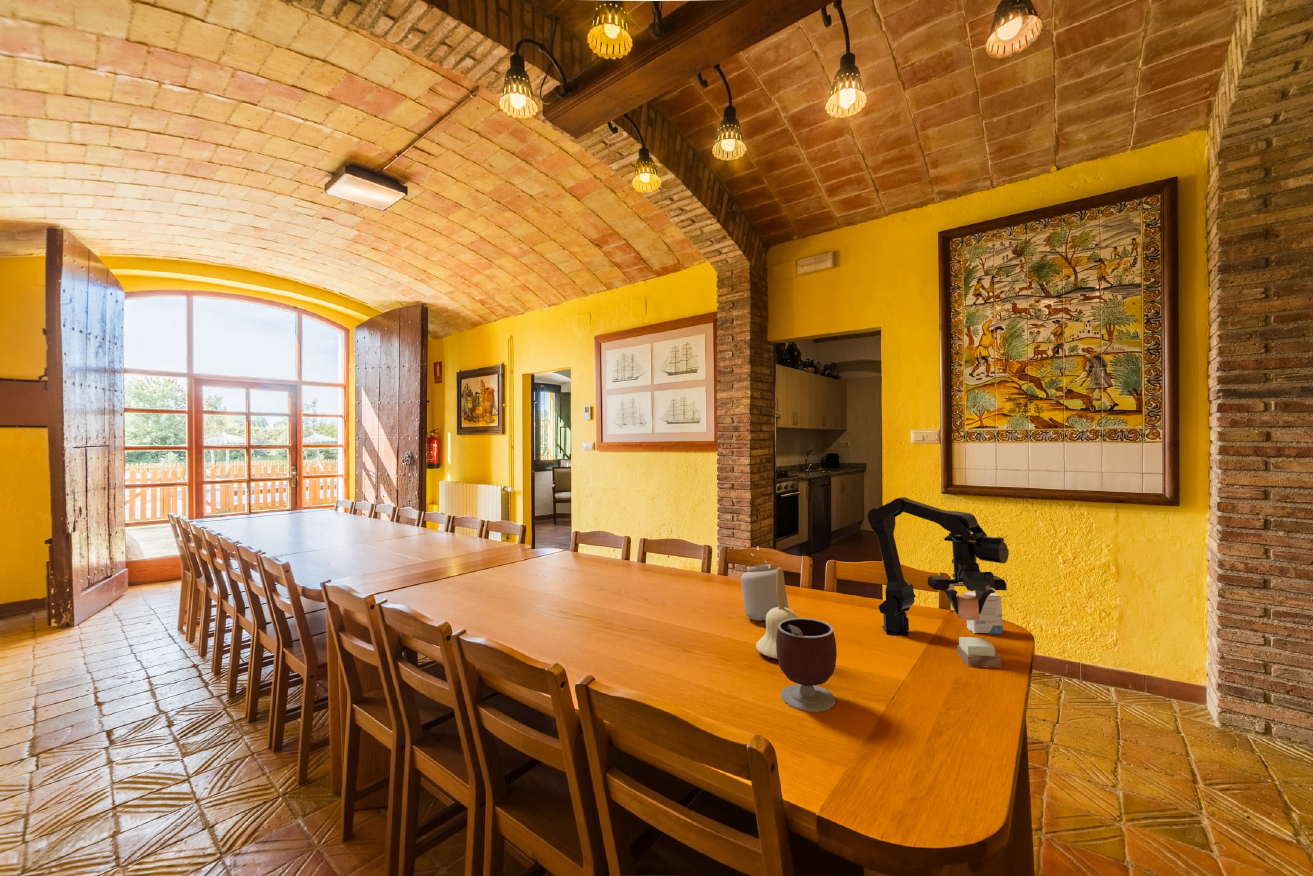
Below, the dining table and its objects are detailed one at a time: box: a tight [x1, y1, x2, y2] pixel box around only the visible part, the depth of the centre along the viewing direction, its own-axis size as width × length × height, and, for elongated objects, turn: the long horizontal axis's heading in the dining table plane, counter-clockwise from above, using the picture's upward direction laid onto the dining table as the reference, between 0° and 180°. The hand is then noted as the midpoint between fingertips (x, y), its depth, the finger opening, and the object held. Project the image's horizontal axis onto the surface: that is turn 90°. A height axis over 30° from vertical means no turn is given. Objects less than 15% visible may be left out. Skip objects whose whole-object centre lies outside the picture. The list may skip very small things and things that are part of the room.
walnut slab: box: [956, 644, 1003, 668], centre depth 141 cm, size 8×8×3 cm
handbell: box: [755, 566, 798, 659], centre depth 150 cm, size 15×15×25 cm
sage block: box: [958, 636, 996, 657], centre depth 141 cm, size 6×6×2 cm
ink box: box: [964, 591, 1004, 635], centre depth 162 cm, size 9×5×12 cm, turn 84°
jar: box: [740, 545, 790, 621], centre depth 181 cm, size 19×15×25 cm
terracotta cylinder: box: [956, 594, 979, 621], centre depth 146 cm, size 6×6×6 cm
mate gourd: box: [776, 617, 838, 713], centre depth 123 cm, size 16×14×20 cm
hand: (967, 613), depth 146 cm, fingers closed on terracotta cylinder, 5 cm apart
